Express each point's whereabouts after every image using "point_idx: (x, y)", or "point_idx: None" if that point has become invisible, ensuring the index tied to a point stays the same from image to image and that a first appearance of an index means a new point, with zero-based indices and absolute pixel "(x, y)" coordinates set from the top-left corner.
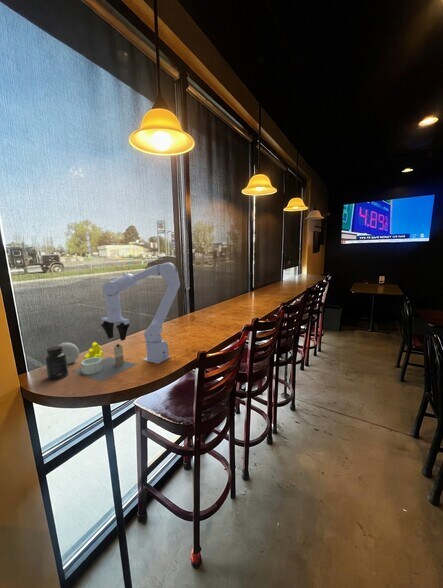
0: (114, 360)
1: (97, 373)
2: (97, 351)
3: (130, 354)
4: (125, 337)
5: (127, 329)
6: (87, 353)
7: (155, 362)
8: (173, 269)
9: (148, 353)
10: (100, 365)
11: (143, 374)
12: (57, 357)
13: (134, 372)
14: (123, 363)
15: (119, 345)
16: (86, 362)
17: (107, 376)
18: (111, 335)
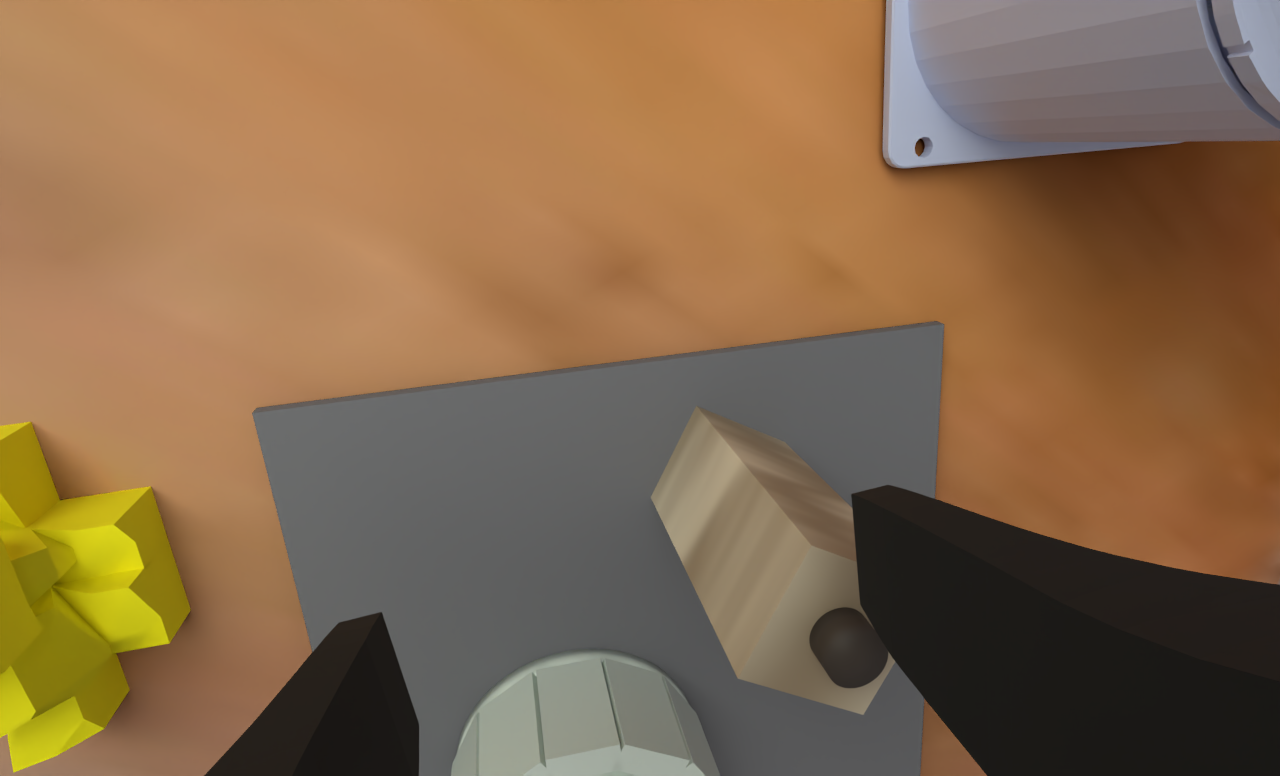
0: (512, 444)
1: (719, 745)
2: (27, 595)
3: (451, 95)
4: (922, 504)
5: (1201, 582)
6: (18, 760)
7: (1153, 144)
8: None
9: (1106, 141)
10: (708, 750)
11: (1178, 433)
12: None
13: (1053, 464)
14: (788, 451)
15: (822, 592)
16: None
17: (888, 704)
18: (386, 708)
